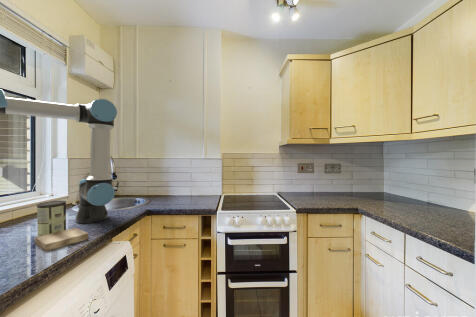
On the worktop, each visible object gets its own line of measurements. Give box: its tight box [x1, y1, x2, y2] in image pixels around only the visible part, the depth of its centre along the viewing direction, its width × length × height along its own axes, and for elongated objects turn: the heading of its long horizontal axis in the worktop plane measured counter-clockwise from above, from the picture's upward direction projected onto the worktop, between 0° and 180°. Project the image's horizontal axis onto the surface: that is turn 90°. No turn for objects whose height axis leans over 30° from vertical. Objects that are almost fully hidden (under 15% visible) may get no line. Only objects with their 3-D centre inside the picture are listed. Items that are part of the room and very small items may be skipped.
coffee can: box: [36, 200, 67, 237], centre depth 99 cm, size 10×10×14 cm
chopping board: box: [34, 227, 89, 252], centre depth 90 cm, size 14×13×2 cm
